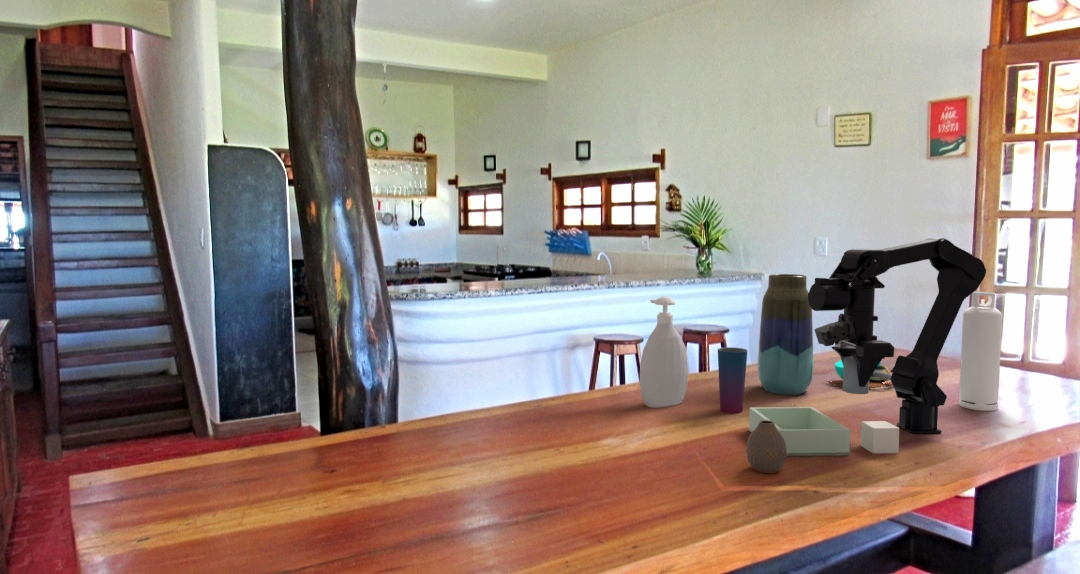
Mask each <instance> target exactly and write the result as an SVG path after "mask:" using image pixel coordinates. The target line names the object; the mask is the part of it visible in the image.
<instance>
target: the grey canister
mask: <svg viewBox="0 0 1080 574" xmlns="http://www.w3.org/2000/svg"><path fill="white" fill-rule="evenodd" d="M842 380H843V387H842V392H844V393H847V394H852V395H866V394H869V390H870V389H869V381H868V382H867V384H866V386H865V387H860V386H859V382H858V371H857V362H856V360H855V359H854V358H853V357H852V356H847V357H844V365H843V379H842Z"/></svg>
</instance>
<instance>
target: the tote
mask: <svg viewBox="0 0 1080 574" xmlns="http://www.w3.org/2000/svg"><path fill="white" fill-rule="evenodd" d="M748 414H749V418H748V431H749V432H751V433H752V432H753V431H754V430H755V429H756V427H757V426H758V424H759V422H760V421H762V420H768V421H772V422H774V424H775V427H776V428H777V430H778V431H779V432H780V434H781V435H782V437H783V438H784V441H785V444H786V457H828V456H829V457H830V456H831V457H832V456H833V457H834V456H835V457H840V456H841V457H842V456H843V457H845V456H847V457H848V456H849V457H850V455H851V429H850V428H848V427H846V426H845V425H843V424H841V423H839V422H838V421H836V420H835V419H833V418H831V417H829V416H828V415H826V414H824V413H823V412H821V411H819V410H818V409H816V408H815V407H813V406H788V407H787V406H780V407H779V406H778V407H776V406H775V407H749V412H748ZM751 433H750V434H751Z"/></svg>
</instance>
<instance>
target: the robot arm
mask: <svg viewBox="0 0 1080 574" xmlns="http://www.w3.org/2000/svg"><path fill="white" fill-rule="evenodd" d="M926 260H928V261H929V263H930V265H931V267H933V268H934V269H935V270H936V271H937V272H938V273H937V277H936V282H937V288H938V289H937V290H938V293H937V295H936V297H935V300H934V302H933V304H932V306H931V309H930V311H929V313H928V315H927V317H926V320H925V322H924V324H923V326H922V329H921V331H920V334H919V335H918V338H917V340H916V342H915V344H914V347H913V348H912V351H911V352H910V353H909V354H907V355H905V356H903V355H898V356H897V358H896V360H895V364H894V366H893V367H892V369H891V370H890V373H891V375H892V376H891V380H890V382H892V385H891V386H892V388H894V391H895V395H896V397H897V398H898V399H901V406H900V407H899V413H898V414H899V416H898V417H899V418H898V422H897V423H896V427H898V428H899V427H900V428H901V429H903V430H904V431H907V432H909V433H911V434H942V431H943V430H941V429H939V428H938V423H939V422H938V419H939V417H938V416H939V407H940V406H944V405H945V403H946V400H947V397H948V396H947V394H946V393H945V392H944V391H943V390H942V389H941V387H940V386H938V384H937V383H938V379H939V376H940V375H939V374H940V373H939V368H938V359H939V356H940V355H941V352H942V350H943V349H944V345H945V343H946V342H947V341H946V340H947V338H948V337H949V334H950V332H951V329H952V327H953V325H954V323H955V321H956V318H957V316H958V314H959V311H960V310H961V307H962V305H963V303H964V301H965V300H966V299H967V298H968V297H970V295H971V296H972V293H973V292H977V290H978V288H979V287H980V286H981V284H982V282H983V281H984V279H985V277H986V274H987V268H986V266H985V264H984V261H983V260H981V259H980V258H979V257H976V256H974V255H973V254H971V253H970V252H968V251H966V250H964V249H963V248H960V247H958V246H957V245H956V244H954V243H953V242H951V241H950V240H948V239H947V238H944V237H943V238H942V237H941V238H939V237H938V238H937V237H930V238H927V239H925V240H919V241H915V242H911V243H910V242H909V243H906V244H899V245H895V246H892V247H887V248H882V249H880V248H879V249H867V248H865V249H863V248H862V249H861V248H859V249H857V248H856V249H853V248H852V249H848V250H846V251H845V252H843V255H842V257H841V259H840V262H839V263H838V265H837V266H836V268H835V269H834V270H833V272H832V273H831V274H830V276H829V278H826V277H815V278H814V283H813V284H812V285H811V286H810V288H809V291H808V302H809V305H810V307H811V308H812V311H815V312H827V311H828V312H829V311H833V312H834V311H835V312H836V311H843V313H839V315H838V319H837V321H834V322H830V323H828V324H825V325H822V326H819V327H817V328H815V329H814V333H815V336H816V339H817V342H818V344H819V345H823V346H824V347H830V346H831V349H832V350H834V351H835V352H836V354H838V355H839V357H840V361H841V360H842V363H843V365H844V357H847V356H852V357H853V358H854V359H855V360H856V362H857V371H858V382H859V386H860V387H865V386H866V384H867V382H868V381H869V379H870V377H871V376H872V374H873V372H874V371H875V369H876V367H877V366H878V365H879V363H880V362H881V361H882V360H885V358H895V346H894V345H893V344H892V343H891V342H888V341H884V340H882V339H881V340H880V339H879V340H878V336H877V335H874V322H879V321H878V320H879V316H878V315H875V297H876V296H875V293H876V289H884V288H885V286H886V285H885V284H883V282H881V281H880V280H879V278H878V277H877V276H880V275H883V274H885V273H887V271H888V270H889V269H891V268H894V267H899V266H903V265H908V264H913V263H917V262H921V261H926ZM833 345H834V346H833Z"/></svg>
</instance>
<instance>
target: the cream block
mask: <svg viewBox="0 0 1080 574" xmlns="http://www.w3.org/2000/svg"><path fill="white" fill-rule="evenodd" d="M899 443H900V428H899V426H897V425H894V424H893V423H891V422H888V421H886V420H875V421H874V420H873V421H872V420H869V421H868V420H867V421H865V420H864V421H862V420H861V421H860V444H859V445H860V446H861V448H864V449H866V450H867V451H869V452H870V453H871V454H899V447H900V445H899Z"/></svg>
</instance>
